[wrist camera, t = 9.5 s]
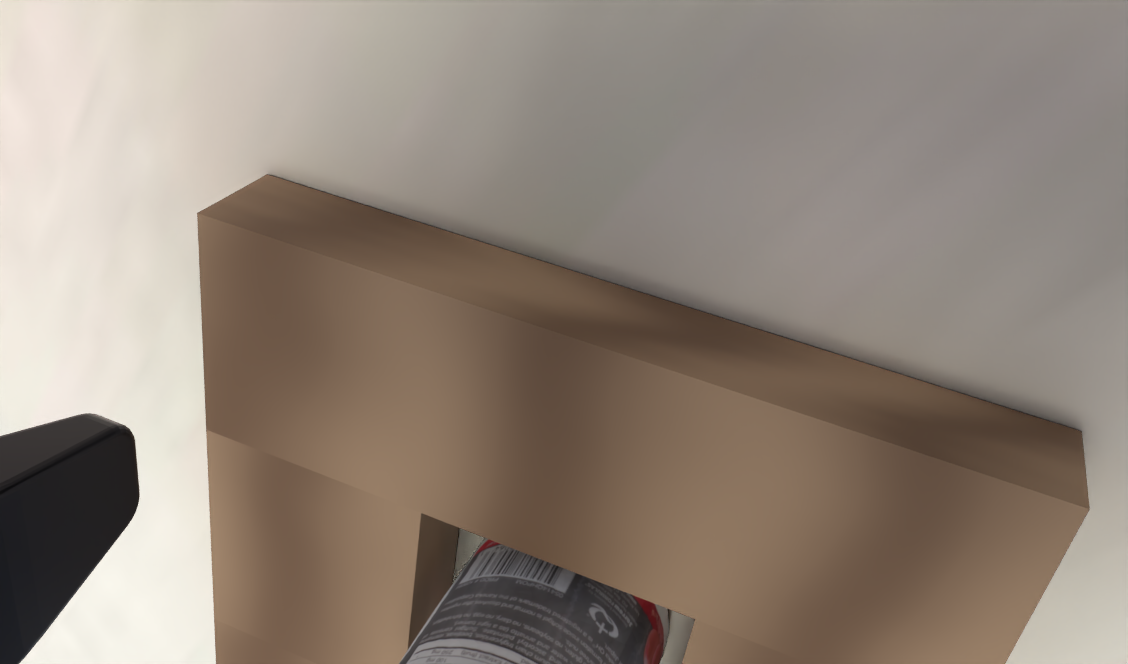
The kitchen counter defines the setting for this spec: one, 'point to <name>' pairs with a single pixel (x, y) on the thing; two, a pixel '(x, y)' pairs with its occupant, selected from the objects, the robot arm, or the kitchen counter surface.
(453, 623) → the pill bottle
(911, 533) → the hole plate
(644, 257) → the kitchen counter surface
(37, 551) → the robot arm
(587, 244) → the kitchen counter surface
